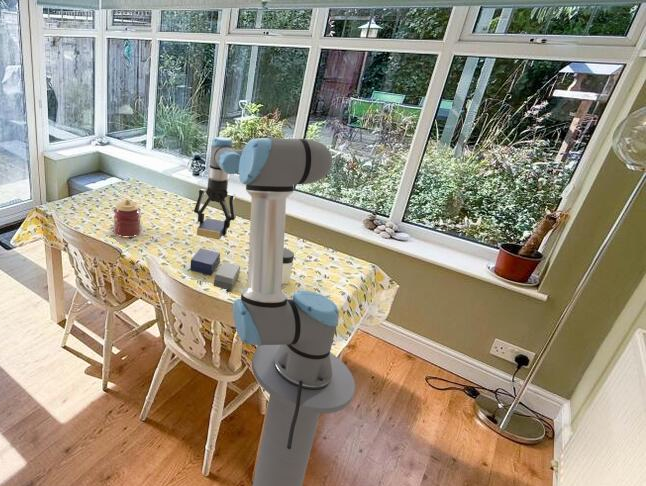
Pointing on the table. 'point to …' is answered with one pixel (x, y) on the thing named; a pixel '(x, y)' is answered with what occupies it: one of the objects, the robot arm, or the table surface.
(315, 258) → the table surface
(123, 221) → the kitchen canister
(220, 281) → the grey stack
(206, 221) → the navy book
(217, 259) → the navy stack
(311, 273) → the table surface
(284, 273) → the jar
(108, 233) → the table surface
